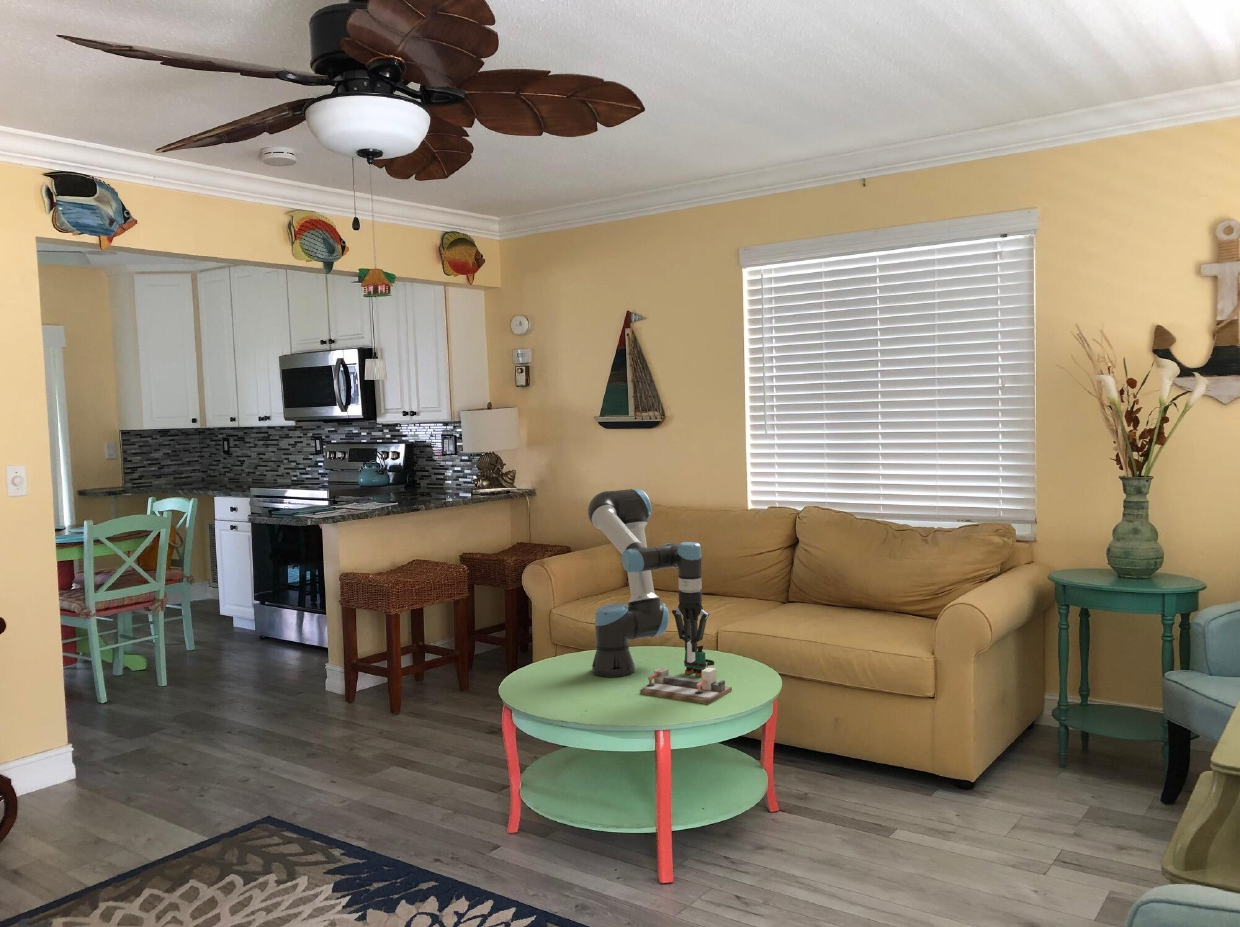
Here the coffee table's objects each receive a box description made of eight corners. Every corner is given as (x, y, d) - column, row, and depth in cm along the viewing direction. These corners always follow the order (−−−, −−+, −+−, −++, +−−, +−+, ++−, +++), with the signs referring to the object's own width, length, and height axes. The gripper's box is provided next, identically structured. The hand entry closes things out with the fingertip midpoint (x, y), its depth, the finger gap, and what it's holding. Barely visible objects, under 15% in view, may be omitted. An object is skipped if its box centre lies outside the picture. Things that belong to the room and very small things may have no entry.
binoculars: (718, 643, 328) (700, 646, 321) (717, 674, 328) (699, 677, 321) (698, 640, 334) (680, 643, 327) (697, 670, 334) (679, 673, 327)
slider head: (694, 693, 298) (693, 674, 298) (708, 685, 307) (707, 667, 306) (702, 695, 297) (701, 676, 296) (716, 686, 305) (716, 668, 305)
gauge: (640, 693, 306) (639, 677, 305) (665, 680, 319) (664, 665, 319) (708, 704, 292) (708, 687, 292) (731, 690, 305) (731, 674, 305)
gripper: (666, 590, 306) (668, 661, 308) (702, 594, 299) (703, 667, 301) (678, 586, 312) (679, 655, 314) (713, 589, 305) (714, 661, 307)
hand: (691, 661), depth 307 cm, fingers closed
